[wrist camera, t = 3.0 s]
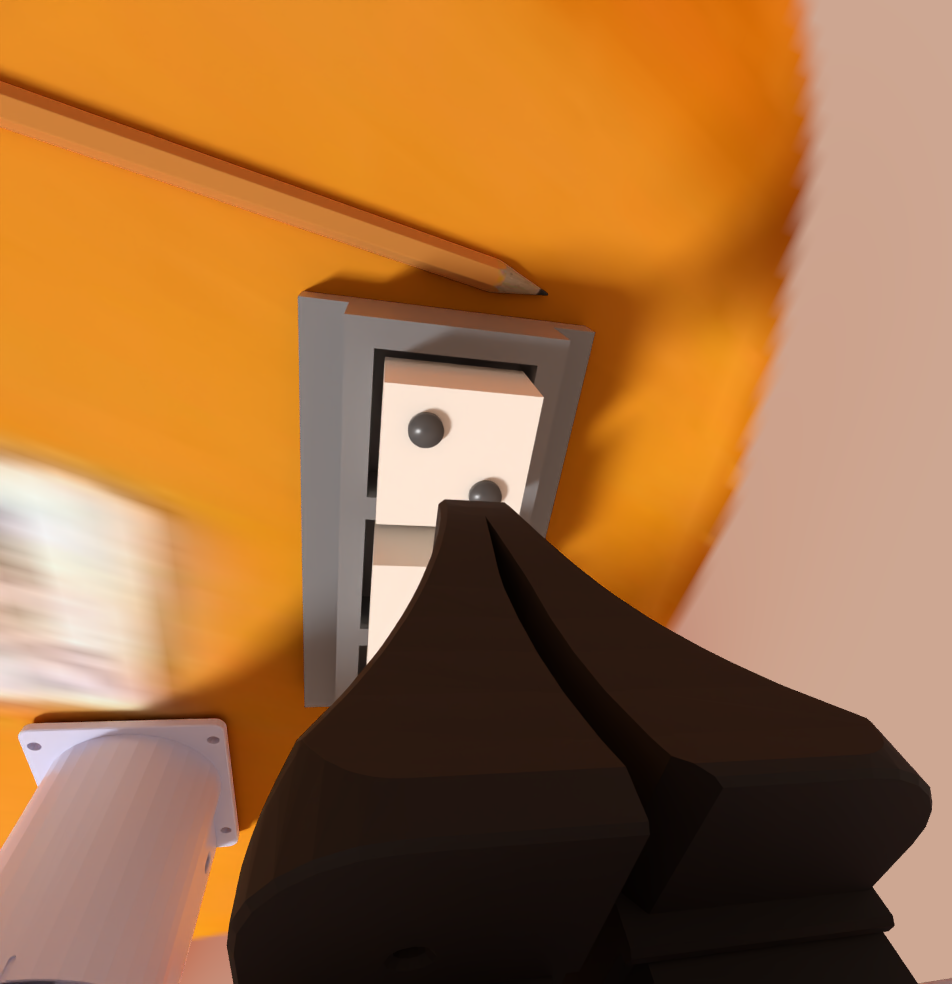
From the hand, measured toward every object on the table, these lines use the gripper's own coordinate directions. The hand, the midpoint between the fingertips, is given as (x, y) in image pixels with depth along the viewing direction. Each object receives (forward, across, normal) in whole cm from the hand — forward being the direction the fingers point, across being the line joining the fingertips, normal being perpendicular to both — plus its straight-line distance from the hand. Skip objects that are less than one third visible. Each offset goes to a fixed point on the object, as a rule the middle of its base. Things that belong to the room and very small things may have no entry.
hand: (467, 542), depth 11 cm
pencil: (+9, +6, -6) cm, 12 cm away
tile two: (+6, 0, 0) cm, 6 cm away
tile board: (+8, 0, +5) cm, 10 cm away
